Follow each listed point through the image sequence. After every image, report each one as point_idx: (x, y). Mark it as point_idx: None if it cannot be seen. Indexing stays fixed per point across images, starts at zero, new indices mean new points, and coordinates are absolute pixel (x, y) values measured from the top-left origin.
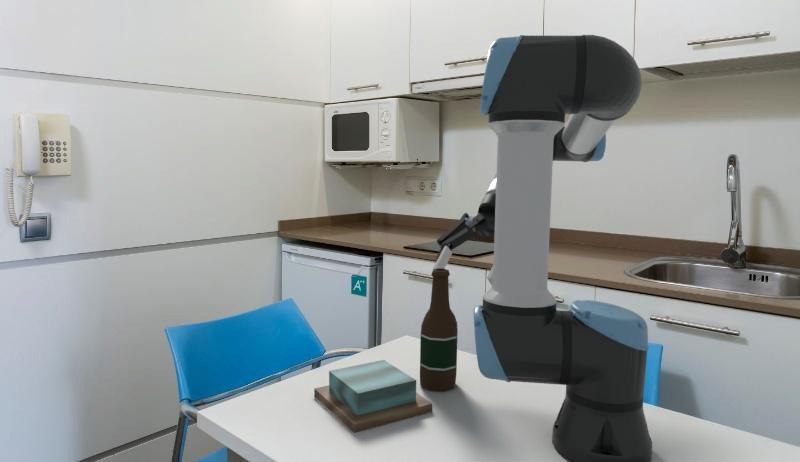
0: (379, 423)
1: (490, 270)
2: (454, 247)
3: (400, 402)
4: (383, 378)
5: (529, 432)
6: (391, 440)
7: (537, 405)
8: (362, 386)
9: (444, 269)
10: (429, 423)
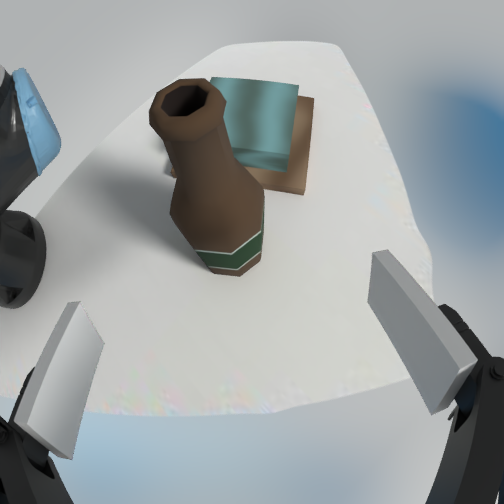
0: None
1: (66, 329)
2: (448, 443)
3: None
4: (225, 114)
5: (65, 231)
6: None
7: (86, 304)
8: (224, 87)
9: (180, 116)
10: (156, 156)
